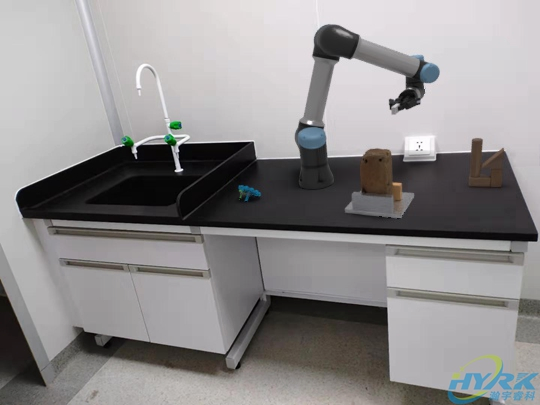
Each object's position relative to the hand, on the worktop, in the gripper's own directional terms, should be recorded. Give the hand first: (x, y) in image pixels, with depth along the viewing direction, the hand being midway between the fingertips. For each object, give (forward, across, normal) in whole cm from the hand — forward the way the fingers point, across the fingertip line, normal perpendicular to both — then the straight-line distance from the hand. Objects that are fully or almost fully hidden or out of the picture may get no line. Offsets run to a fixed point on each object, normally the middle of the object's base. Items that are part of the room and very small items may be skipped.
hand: (393, 111), depth 156 cm
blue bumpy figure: (+27, +54, -30) cm, 67 cm away
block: (+22, 0, -29) cm, 36 cm away
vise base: (+20, 0, -30) cm, 36 cm away
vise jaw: (+17, 0, -28) cm, 33 cm away
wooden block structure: (-6, -32, -30) cm, 44 cm away
